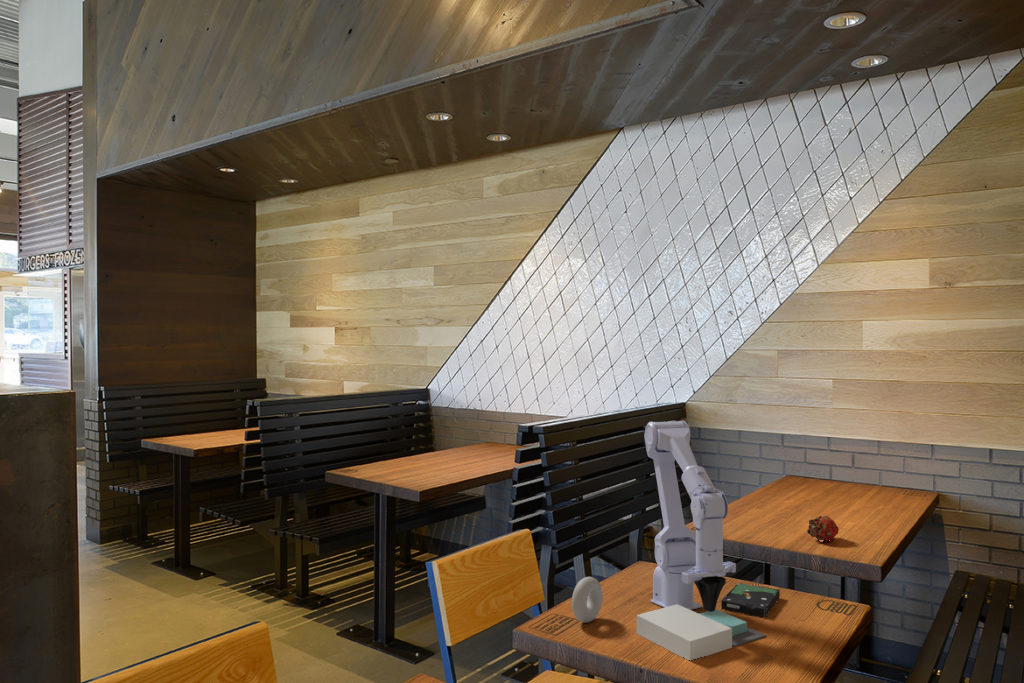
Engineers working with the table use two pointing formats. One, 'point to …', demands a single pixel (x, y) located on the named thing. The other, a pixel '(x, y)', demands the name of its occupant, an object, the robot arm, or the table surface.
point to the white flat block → (684, 632)
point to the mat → (746, 637)
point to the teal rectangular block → (727, 621)
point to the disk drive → (750, 599)
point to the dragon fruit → (823, 528)
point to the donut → (580, 605)
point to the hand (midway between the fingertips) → (709, 610)
